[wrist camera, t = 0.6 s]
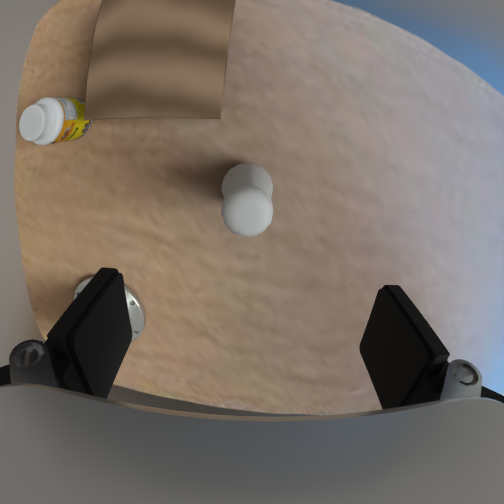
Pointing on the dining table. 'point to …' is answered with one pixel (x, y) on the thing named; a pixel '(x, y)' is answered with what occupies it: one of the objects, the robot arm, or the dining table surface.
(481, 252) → the dining table surface
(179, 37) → the small wooden table
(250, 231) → the salt shaker
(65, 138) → the supplement bottle
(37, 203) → the dining table surface
